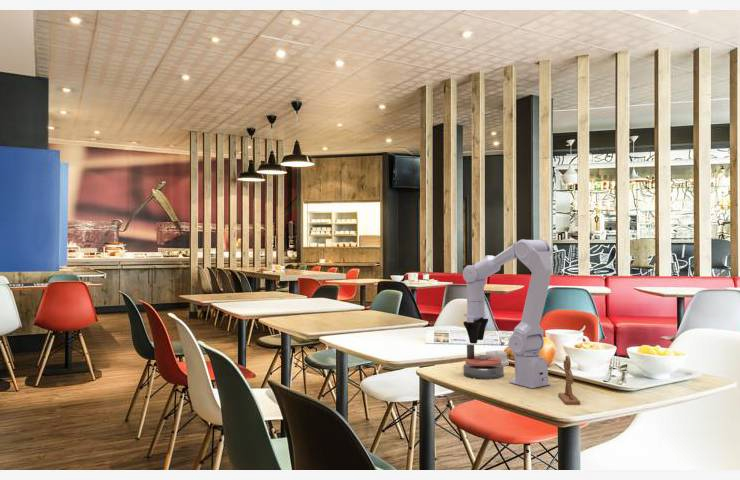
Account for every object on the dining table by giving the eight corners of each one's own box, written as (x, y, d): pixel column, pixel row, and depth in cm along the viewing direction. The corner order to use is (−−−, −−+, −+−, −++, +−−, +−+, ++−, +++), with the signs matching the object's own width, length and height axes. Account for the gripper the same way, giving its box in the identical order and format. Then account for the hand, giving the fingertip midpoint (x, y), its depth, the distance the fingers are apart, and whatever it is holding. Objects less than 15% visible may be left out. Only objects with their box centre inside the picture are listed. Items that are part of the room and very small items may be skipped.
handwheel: (507, 363, 185) (506, 345, 185) (492, 369, 176) (492, 350, 176) (474, 360, 192) (474, 342, 192) (459, 366, 182) (458, 347, 183)
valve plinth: (512, 375, 182) (512, 366, 182) (482, 381, 175) (482, 371, 175) (484, 369, 193) (484, 360, 193) (455, 374, 186) (455, 364, 186)
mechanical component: (484, 361, 209) (481, 366, 199) (483, 349, 209) (481, 353, 199) (511, 362, 206) (510, 367, 196) (511, 350, 206) (509, 354, 196)
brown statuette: (580, 405, 146) (579, 358, 146) (565, 404, 146) (563, 358, 146) (572, 396, 154) (571, 352, 155) (558, 396, 155) (556, 352, 155)
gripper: (470, 299, 196) (471, 337, 196) (457, 302, 183) (458, 344, 183) (490, 299, 193) (491, 338, 193) (478, 303, 180) (479, 345, 180)
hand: (476, 341), depth 188 cm, fingers open, 7 cm apart
